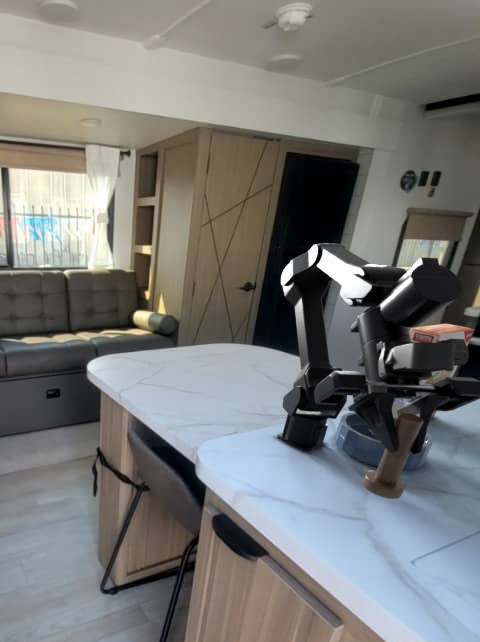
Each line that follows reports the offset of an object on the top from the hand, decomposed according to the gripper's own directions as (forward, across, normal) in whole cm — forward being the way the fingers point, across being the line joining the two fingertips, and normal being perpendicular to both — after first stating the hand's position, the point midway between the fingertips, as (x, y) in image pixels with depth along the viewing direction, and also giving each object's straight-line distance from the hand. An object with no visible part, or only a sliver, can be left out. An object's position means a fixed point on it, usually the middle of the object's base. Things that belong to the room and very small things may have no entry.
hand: (405, 452), depth 52 cm
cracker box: (-20, +29, +38) cm, 52 cm away
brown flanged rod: (+4, 0, +6) cm, 7 cm away
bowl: (-8, +14, +26) cm, 31 cm away
